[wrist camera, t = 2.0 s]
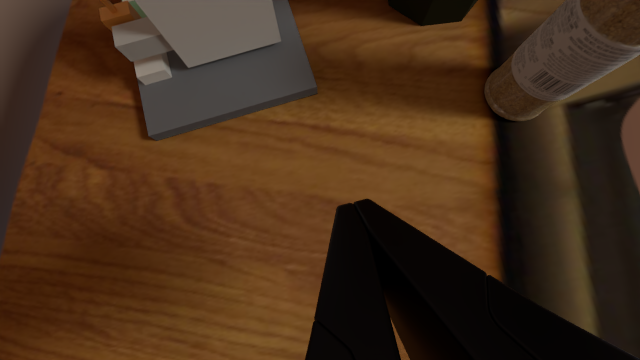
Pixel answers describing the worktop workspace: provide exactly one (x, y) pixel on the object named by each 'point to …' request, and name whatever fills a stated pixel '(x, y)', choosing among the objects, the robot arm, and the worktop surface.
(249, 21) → the white tall block
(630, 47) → the sprinkles bottle
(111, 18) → the orange block with rod
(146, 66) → the base
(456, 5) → the wine bottle
